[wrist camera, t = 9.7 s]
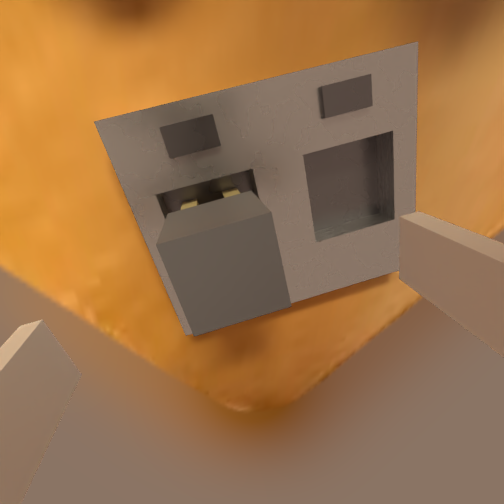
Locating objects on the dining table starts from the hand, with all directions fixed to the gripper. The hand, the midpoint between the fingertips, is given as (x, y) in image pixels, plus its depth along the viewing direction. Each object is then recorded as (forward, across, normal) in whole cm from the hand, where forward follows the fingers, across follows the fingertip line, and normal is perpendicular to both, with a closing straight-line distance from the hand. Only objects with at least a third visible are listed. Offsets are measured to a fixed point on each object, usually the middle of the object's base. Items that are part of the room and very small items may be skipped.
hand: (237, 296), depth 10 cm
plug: (+12, 0, -1) cm, 12 cm away
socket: (+12, +5, -1) cm, 13 cm away
